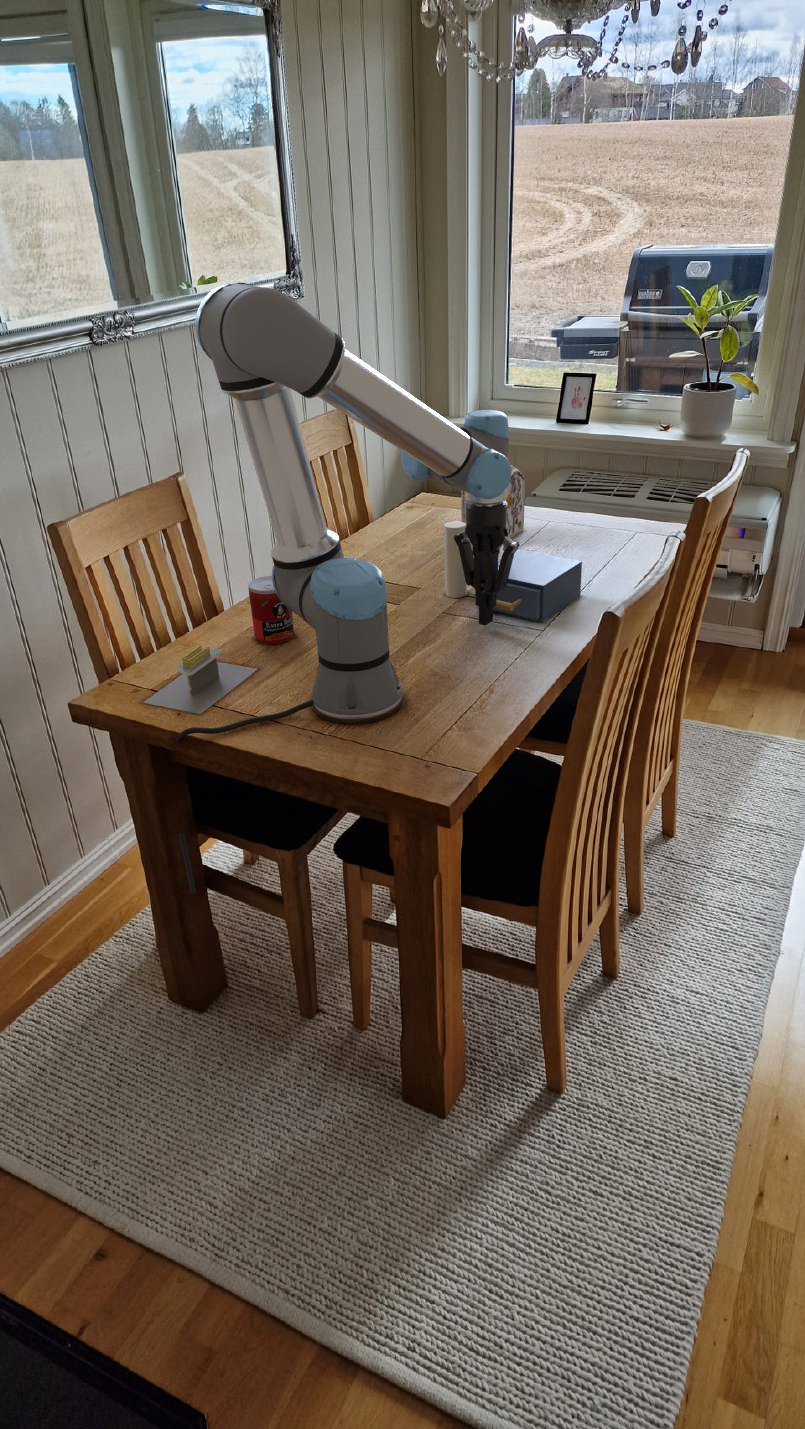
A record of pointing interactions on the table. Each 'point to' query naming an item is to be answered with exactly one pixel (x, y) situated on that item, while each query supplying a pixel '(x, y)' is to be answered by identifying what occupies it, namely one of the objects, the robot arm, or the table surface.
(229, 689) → the platform
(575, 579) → the cabinet
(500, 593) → the drawer
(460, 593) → the candle
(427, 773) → the table surface
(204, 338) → the robot arm
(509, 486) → the decorative jar
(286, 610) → the canned food
